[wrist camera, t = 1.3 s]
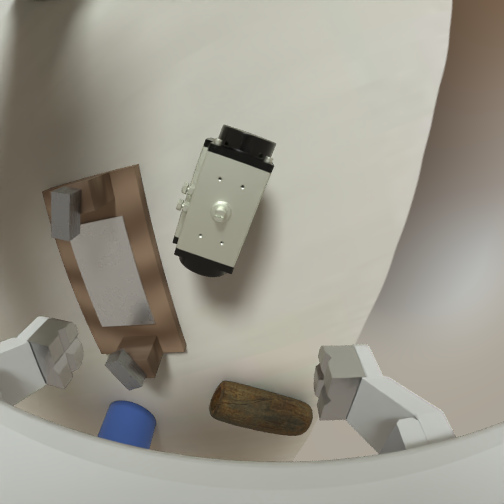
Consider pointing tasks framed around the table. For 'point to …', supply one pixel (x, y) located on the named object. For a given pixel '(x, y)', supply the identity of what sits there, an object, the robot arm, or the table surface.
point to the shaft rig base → (147, 259)
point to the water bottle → (128, 424)
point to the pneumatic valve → (222, 200)
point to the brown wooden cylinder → (260, 409)
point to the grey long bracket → (105, 274)
